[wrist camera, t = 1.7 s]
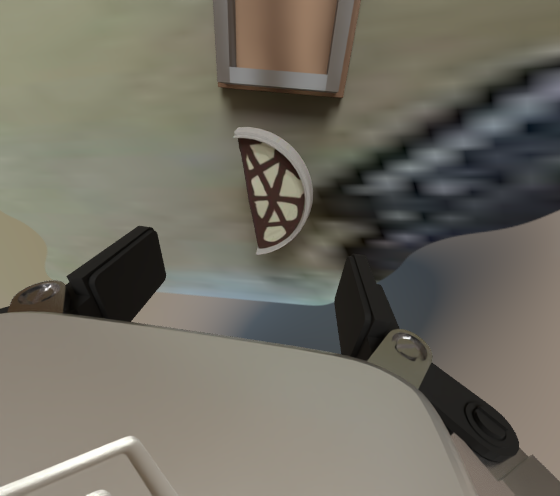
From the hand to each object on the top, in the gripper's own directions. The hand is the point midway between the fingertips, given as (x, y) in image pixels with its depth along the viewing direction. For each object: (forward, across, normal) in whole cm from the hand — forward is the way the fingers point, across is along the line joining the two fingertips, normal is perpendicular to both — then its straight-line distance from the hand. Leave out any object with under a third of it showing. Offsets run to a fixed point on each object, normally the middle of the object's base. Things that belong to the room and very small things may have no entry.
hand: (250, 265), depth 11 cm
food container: (+21, 0, 0) cm, 21 cm away
